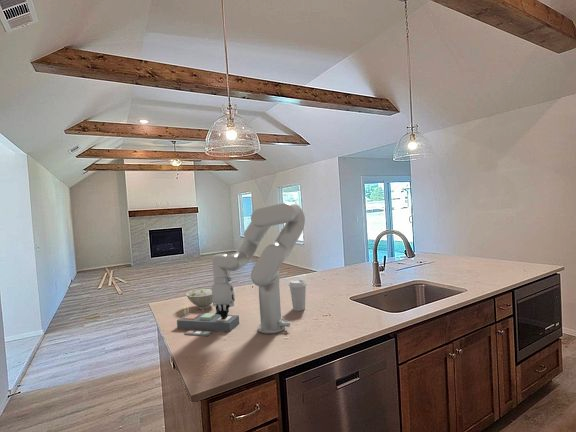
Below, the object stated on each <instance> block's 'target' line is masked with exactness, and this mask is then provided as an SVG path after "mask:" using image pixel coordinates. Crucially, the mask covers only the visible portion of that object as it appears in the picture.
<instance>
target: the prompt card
mask: <svg viewBox="0 0 576 432" xmlns="http://www.w3.org/2000/svg"><path fill="white" fill-rule="evenodd" d="M212 333H213V331H209V330H193V329H188V330H187V331H186V332H185V333H184V335H185V336H197V335H199V337H202V336H203V337H209V336H210V335H212Z"/></svg>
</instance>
